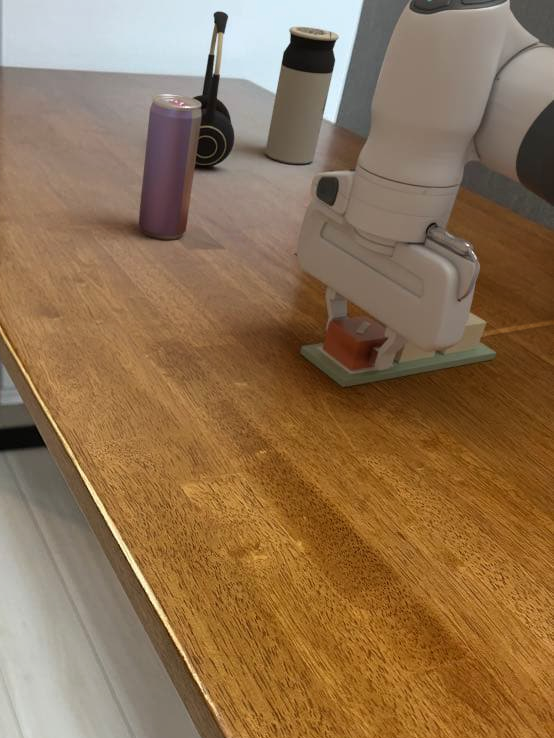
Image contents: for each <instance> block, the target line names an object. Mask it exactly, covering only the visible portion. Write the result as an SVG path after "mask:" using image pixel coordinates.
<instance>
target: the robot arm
mask: <svg viewBox="0 0 554 738" xmlns="http://www.w3.org/2000/svg"><path fill="white" fill-rule="evenodd" d="M514 15H515V14H514V13H513V11H512V10H511V0H409V1H408V2H407V4H406V6H405V7H404V8H403V11H402V12H401V14H400V16H399V18H398V21H397V23H396V25H395V27H394V29H393V32H392V34H391V37H390V39H389V42H388V46H387V49H386V51H385V55H384V58H383V61H382V64H381V67H380V72H379V75H378V79H377V83H376V86H375V90H374V94H373V97H372V102H371V109H370V111H371V112H370V113H371V115H370V116H371V120H370V121H371V123H370V129H369V133H368V136H367V139H366V142H365V143H364V145H363V147H362V149H361V150H360V153H359V155H358V157H357V162H356V165H355V168H349V170H335V171H325V172H324V171H323V172H318V173H316V174H315V175H314V176H313V178H312V182H311V186H310V194H311V196H312V198H314V199H312V200H311V201H310V202H309V204H308V205H307V208H306V210H305V214H304V216H303V220H302V224H301V228H300V233H299V237H298V242H297V247H296V253H297V256H296V258H297V263H298V266H299V268H300V269H302V270H303V271H304V272H306V273H307V274H309V275H310V276H312V277H314V278H315V279H316V280H318V281H319V282H320V283H322V284H323V285H325V286H326V291H325V303H326V310H327V315H328V318H327V321H326V326H325V332H326V333H327V330H328V326H329V322H330V321H332V320H339V319H346V318H349V317H348V301H349V302H350V303H352V304H353V305H355V306H356V307H358V308H359V309H361V310H362V311H364V312H365V313H366V314H368V315H370V316H371V317H373V318H374V319H375V320H376V319H377V320H378V321H380V322H381V323H383V324H384V325H386V326H387V328H386V331H385V334H384V335H385V337H387V338H388V340H387V341H386V342H385V343H384V344H383V345H381V346H375V347H372V349H371V352H370V357H369V359H368V362H369V363H370V364H371V365H373V366H374V367H375V368H377V369H378V370H379V371H380V370H385V369H389V368H390V367H391V366H392V363H393V360H394V357H395V354H396V352H398V351H399V350H400V349H401V348H402V347H403V346H405V345H406V344H407V343H408V342H409V341H410V342H411V343H412V344H414V345H415V346H417V347H418V348H420V349H421V350H423V351H426V352H430V351H438V350H443V349H448V348H450V347H452V346H454V345H455V344H457V343H458V342H459V341H460V340H461V338H462V336H463V333H464V330H465V327H466V323H467V320H468V316H469V312H470V313H471V307H472V303H473V299H474V294H475V288H476V282H477V279H478V278H479V274H480V269H481V264H480V262H479V259H478V257H477V254H476V253H475V251H474V246H473V244H472V243H471V242H470V241H468V240H466V239H464V238H461V237H458V236H456V235H454V234H453V233H452V232H450V231H449V230H448V229H447V226H448V224H449V220H450V218H451V214H452V211H453V208H454V205H455V202H456V199H457V196H458V193H459V190H460V188H461V187H460V186H461V184H462V181H463V178H464V172H465V171H464V169H465V165H466V164H467V163H469V162H473V161H475V162H478V163H479V164H482V165H484V166H485V167H486V168H487V169H489V170H491V171H493V172H495V173H497V174H499V175H502V176H504V177H506V178H508V179H510V180H512V181H514V182H516V183H519V184H520V185H522V186H523V187H524V188H525V189H526V190H528V191H529V192H531V193H532V194H534V195H536V196H537V197H539V198H540V199H542V200H543V201H544V202H546V203H547V204H549V205H551V206H552V207H554V46H551V45H548V44H545V43H541V42H540V39H539V38H537V37H535V36H534V35H533V34H532V33H530V32H529V31H528V30H527V29H526V28H524V26H523V25H522V24H521V23H520V22H519V21H518V20H517V18H516V17H515V16H514Z"/></svg>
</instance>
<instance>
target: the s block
mask: <svg viewBox="0 0 554 738" xmlns="http://www.w3.org/2000/svg"><path fill="white" fill-rule="evenodd" d="M385 331H386V329H385V328H384V327H382V326H381V325H380V324H378V323H377V322H376V320H374V319H372V318H370V316H368V315H360V316H353V317H348V318H346V319H339V320H332V321H330V322H329V326H328V330H327V332H326V333H325V337H324V341H323V343H324V345H323V349H324V350H325V351H326V352H327V353H329V354H330V355H331V356H333V357H334V358H335V359H337V360H338V361H339V362H341V363H342V364H343V365H345V366H346V367H347V368H348V369H350V370H357V369H363V368H369V367H374V366H373V365H371V364H370V363H369V362H368V359H369V357H370V352H371V349H372V347H375V346H381V345H383V344H384V343H385V342H386V341H387V340H388V338H387V337H385V335H384V334H385Z"/></svg>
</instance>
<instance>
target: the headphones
mask: <svg viewBox="0 0 554 738" xmlns="http://www.w3.org/2000/svg"><path fill="white" fill-rule="evenodd" d="M212 17H213V20H214V21H213V23H214V27H213V31H212V36H211V42H210V48H209V53H208V55H207V62H206V69H205V74H204V80H203V87H202V93H201V94H199V95H196V96H193V97H192V98H193V99H195V100H198V101H199V102H200V103H201V114H202V117H201V124H200V131H199V138H198V146H197V153H196V160H195V166H196V167H200V168H210V167H213V166H217V165H219V164H221V163H222V162H223V161H225V160H226V159H227V158H228V157H229V155H230V154H231V152H232V150H233V148H234V144H235V130H234V127H233V124H232V119H231V115H230V112H229V110H228V109H227V107H226V105H225V104H224V103H223V101H221V100H220V99H219V98H218V93H219V85H220V77H221V74H220V70H221V62H222V54H223V44H224V35H225V32H226V27H227V23H228V19H229V15H228V13H226V12H224V11H220V10H219V11H215V12H213V16H212ZM216 44H217V46H216ZM215 50H216V55H215Z"/></svg>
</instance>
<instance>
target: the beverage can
mask: <svg viewBox="0 0 554 738" xmlns="http://www.w3.org/2000/svg"><path fill="white" fill-rule="evenodd" d="M148 116H149V117H148V123H147V124H148V125H147V132H146V133H147V135H146V145H145V153H144V163H143V165H144V166H143V172H142V173H143V174H142V184H141V194H140V202H139V213H138V223H137V224H138V227H139V229H140V231H141V233H143V235H145V236H148V237H150V238H152V239H158V240H167V241H170V240H176V239H177V240H178V239H179V238H181V237H182V236H183V235H184V234H185V233H186V231H187V225H188V217H189V212H190V211H189V210H190V203H191V197H192V189H193V182H194V181H193V180H194V173H195V168H196V167H195V160H196V153H197V146H198V138H199V131H200V124H201V117H202V114H201V103H200V102H199V101H198V100H195V99H193V97H190V96H184V95H180V94H170V93H169V94H167V93H166V94H156V95H154V96H152V102H151V105H150V107H149V115H148Z"/></svg>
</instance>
